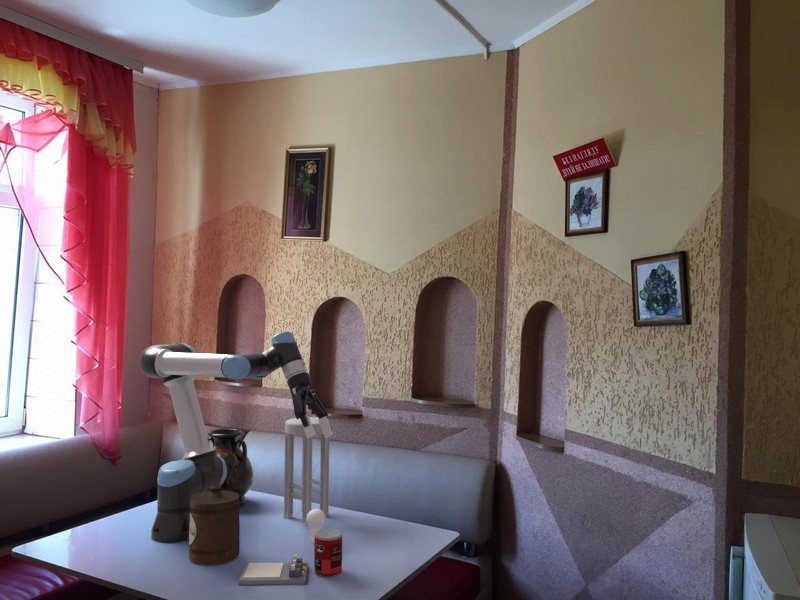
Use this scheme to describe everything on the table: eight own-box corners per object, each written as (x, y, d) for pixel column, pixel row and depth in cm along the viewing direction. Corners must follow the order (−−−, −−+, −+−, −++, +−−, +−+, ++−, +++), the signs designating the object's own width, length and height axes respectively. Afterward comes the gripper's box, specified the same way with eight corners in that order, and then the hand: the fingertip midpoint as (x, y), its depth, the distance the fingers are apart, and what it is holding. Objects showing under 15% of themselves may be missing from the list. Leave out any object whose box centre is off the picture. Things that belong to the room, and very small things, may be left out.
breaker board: (238, 584, 179) (238, 569, 180) (246, 567, 191) (246, 552, 192) (304, 583, 181) (305, 568, 181) (308, 566, 193) (308, 552, 193)
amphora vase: (263, 500, 258) (264, 428, 259) (231, 516, 238) (232, 438, 239) (218, 494, 266) (219, 424, 266) (182, 509, 246) (184, 434, 246)
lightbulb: (321, 547, 208) (322, 512, 208) (303, 545, 209) (303, 511, 209) (327, 540, 214) (327, 507, 214) (309, 539, 215) (310, 505, 215)
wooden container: (198, 547, 207) (199, 477, 208) (245, 548, 207) (246, 478, 207) (181, 565, 193) (182, 490, 193) (231, 566, 192) (232, 491, 192)
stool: (305, 507, 249) (307, 415, 250) (336, 515, 240) (337, 419, 240) (275, 518, 237) (277, 420, 237) (306, 526, 227) (308, 425, 228)
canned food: (314, 566, 193) (315, 529, 193) (342, 566, 193) (342, 528, 193) (313, 577, 185) (313, 538, 185) (341, 576, 186) (342, 537, 186)
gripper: (289, 367, 203) (314, 431, 196) (322, 374, 226) (345, 431, 220) (269, 378, 204) (293, 441, 198) (304, 384, 228) (326, 441, 221)
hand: (320, 436), depth 209 cm, fingers open, 13 cm apart
